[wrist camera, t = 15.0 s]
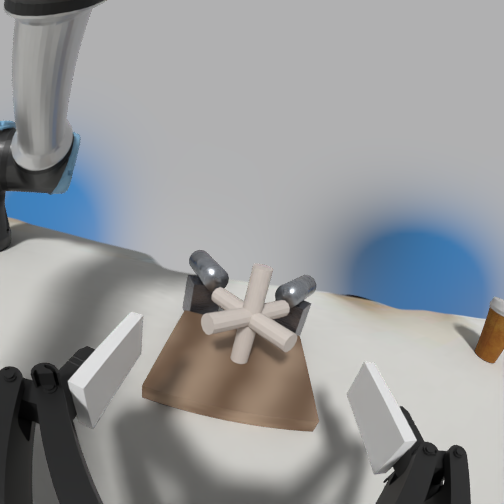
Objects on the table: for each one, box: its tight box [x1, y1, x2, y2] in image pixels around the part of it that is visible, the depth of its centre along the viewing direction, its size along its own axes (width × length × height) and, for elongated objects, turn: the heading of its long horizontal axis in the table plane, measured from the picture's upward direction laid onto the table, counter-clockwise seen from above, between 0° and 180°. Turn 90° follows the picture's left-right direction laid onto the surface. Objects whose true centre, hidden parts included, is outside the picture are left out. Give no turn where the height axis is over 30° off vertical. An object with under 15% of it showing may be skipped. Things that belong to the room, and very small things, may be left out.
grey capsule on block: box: [183, 250, 229, 315], centre depth 36 cm, size 7×4×8 cm, turn 28°
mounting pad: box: [142, 310, 319, 432], centre depth 27 cm, size 15×15×2 cm
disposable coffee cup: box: [475, 297, 504, 363], centre depth 36 cm, size 10×10×12 cm
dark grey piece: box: [273, 275, 316, 336], centre depth 36 cm, size 7×4×8 cm, turn 148°
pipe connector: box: [201, 264, 297, 364], centre depth 25 cm, size 10×10×10 cm
